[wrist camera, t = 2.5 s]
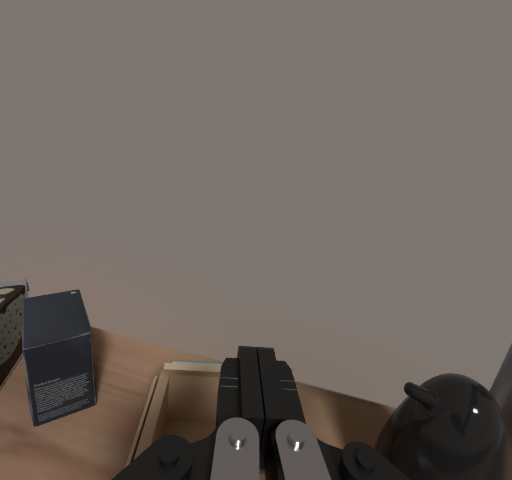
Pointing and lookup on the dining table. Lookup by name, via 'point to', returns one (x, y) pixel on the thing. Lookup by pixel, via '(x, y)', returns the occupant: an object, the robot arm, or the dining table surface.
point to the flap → (196, 366)
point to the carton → (178, 409)
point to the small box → (57, 356)
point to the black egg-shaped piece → (446, 432)
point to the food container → (11, 325)
